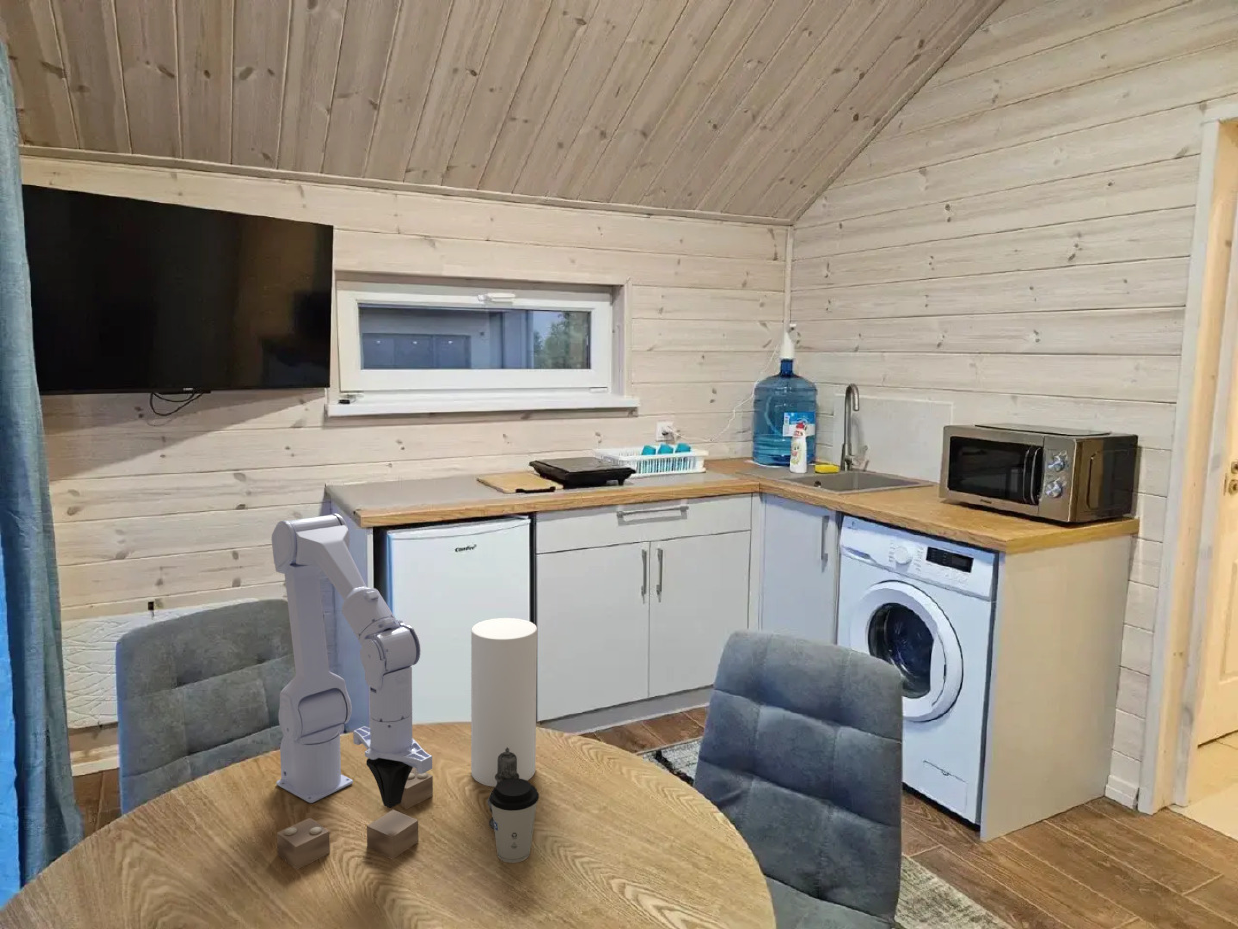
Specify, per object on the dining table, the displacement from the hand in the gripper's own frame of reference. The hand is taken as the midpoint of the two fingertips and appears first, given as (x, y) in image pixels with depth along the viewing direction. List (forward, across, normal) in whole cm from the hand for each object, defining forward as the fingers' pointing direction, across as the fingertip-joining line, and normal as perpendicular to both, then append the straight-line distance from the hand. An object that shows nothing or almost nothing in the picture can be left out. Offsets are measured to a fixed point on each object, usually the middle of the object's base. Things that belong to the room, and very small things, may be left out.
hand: (392, 804), depth 119 cm
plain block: (+6, 0, 0) cm, 6 cm away
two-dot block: (+6, -8, -9) cm, 14 cm away
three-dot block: (+6, -8, +10) cm, 14 cm away
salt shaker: (+6, +9, +14) cm, 18 cm away
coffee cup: (+6, +15, +9) cm, 19 cm away
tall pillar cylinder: (+6, -2, +25) cm, 26 cm away
